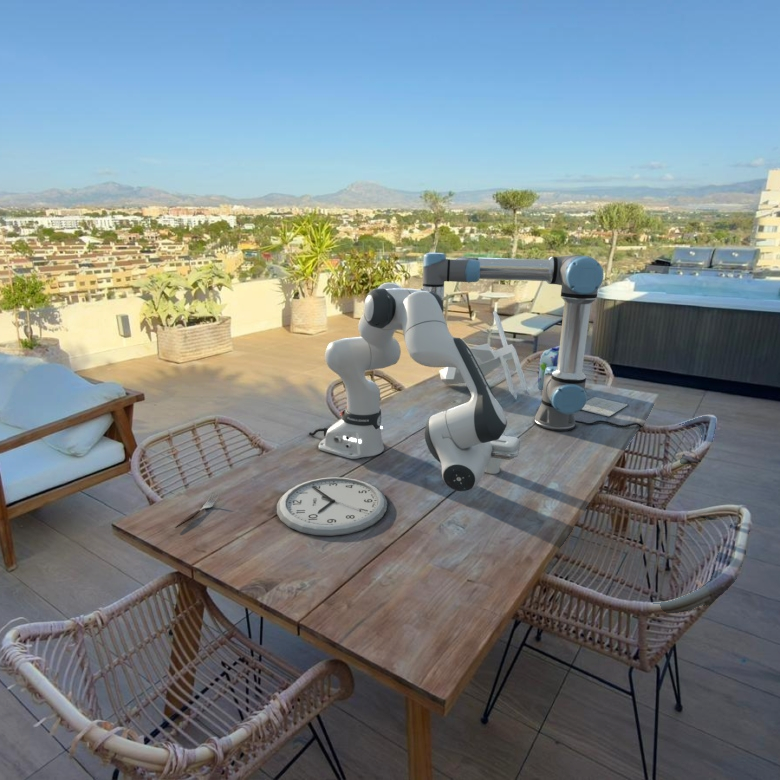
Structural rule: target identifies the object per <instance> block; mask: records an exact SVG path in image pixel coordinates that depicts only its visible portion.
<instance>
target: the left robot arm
mask: <svg viewBox="0 0 780 780" xmlns="http://www.w3.org/2000/svg"><path fill="white" fill-rule="evenodd" d="M444 310H445V309H444V301H443V302H442V300H441V298H440V296H439V295H438V294H436V293H434V292H431V291H421V289H415V288H405V287H402V286H400V285H399V284H397V283H395V282H384V283H382V284H380V285H379V286H378V287H376V288H374V289H370V290H369V292H368V293H367V294H366V296H365V297H364V302H363V312H362V315H361V316H360V319H359V321H358V326H357V329H358V333H359V335H360V336H356V337H344V338H340V339H336V340H334V341H331V342H329V343H328V344H327V346H326V348H325V351H324V360H325V364H326V365H327V367H328V368H329V369H330V371H332V372H334V373H335V374H336V375H338V377H339V378H340V379H341V381H342V382H343V385H344V388H345V395H346V406H345V408H343V409H342V411H341V412H340V413H339V414H340V415H339V417H342V418H340V419H339V420H337V421H336V422H335V423H333V424H328V425H327V426H325V427H323V428H316V429H314V430H313V432H312V431H311V432H309V433H308V435H309V436H311V437H313V436H315V435H316V434H317V433H318V432H323V437H324V438H323V439H321V441H320V442H319V443H318V451H322V452H326V453H328V454H333V455H336V456H339V457H343V458H347V459H350V460H358V459H360V458H367V457H369V458H370V457H374V456H377V455H380V454H381V453H382V452H384V450H385V446H384V442H383V438H382V432H381V430H383V426H382V409H381V389H380V387H379V386H378V384H377V383H376V382H374V381H373V380H370V379H368V378H366V371H371V370H379V369H386V368H388V367H391V366H394V365H396V364H398V362H399V360H400V358H401V355H402V354H401V352H402V351H401V350H402V349H401V346H400V342H399V341H398V340H397V338H395V337H394V334H395V333H396V330H398V331H402V333H403V339H404V342H405V347H406V351H407V353H408V355H409V357H410V358H411V359H412V360H413V361H414V362H415V363H417V364H419V365H421V366H424V367H428V368H446V367H455V368H458V369H459V370H460V372H461V374H462V376H463V378H464V381H465V383H464V384H466V387H467V389H468V391H469V393H470V396H471V397H470V399H469V400H468V401H466V402H464V403H462V404H459V405H456V406H453V407H451V408H448V409H445V410H443V411H439V412H437V413H434V414H433V415H430V416H429V418H428V419H427V421H426V424H425V428H424V440H425V444H426V447H427V449H428V450H429V452H430V454H431V455H432V456H433V458H434V459H435V460H436V461H437V462H438V463H440V465H441V477H442V480H443V482H444V484H445V486H447V487H448V488H449V489H451V490H453V491H456V492H468V491H470V490H472V489H474V488H475V487H477V485H479V483H480V482H481V480H482V478H483V477H484V475H485V473H486V472H485V470H486V467H487V466H488V463H489V461H490V459H491V458H498V459H501V460H505V461H511V460H514V459H515V458H517V457H518V456H519V453H520V447H521V440H520V439H519V438H518V437H516V436H508V435H505V430H506V428H507V425H508V422H507V415H506V413H505V411H504V409H503V407H502V406H501V405H500V403H499V401H498V400H497V398H496V396H495V395H494V392H493V391H492V389H491V387H490V385H489V382H488V381H487V378H486V376H485V377H484V375H483V373H482V371H481V369H480V367H479V365H478V363H477V361H476V360H475V358H474V356H473V354H472V352H471V351H470V349H469V347H470V346H469V345H468V344H467V343H466V342H465V340H464V339H463V338H460V337H454V336H453V335H452V334H451V331H449V327H448V323H447V320H446V318H445V314H444ZM462 339H463V340H464V341H463V340H462ZM466 344H467V345H468V346H469V347H468V346H467V345H466Z"/></svg>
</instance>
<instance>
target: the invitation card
mask: <svg viewBox="0 0 780 780" xmlns="http://www.w3.org/2000/svg"><path fill="white" fill-rule="evenodd" d="M628 406H629V404H627V403H623V402H618V401H614V400H609V399H605V398H601V397H596V396H593V397H592V398H590V399H587V401H586V404H585V406H584V407H583V408H582V409H581V410H580V411H584V412H587V413H593V414H596V415H600V416H604V417H608V418H609V417H611V416H613V415H614V414H616V413H617V412H619V411H621V410H623V409H624V408H626V407H628Z"/></svg>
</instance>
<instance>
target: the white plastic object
mask: <svg viewBox="0 0 780 780" xmlns="http://www.w3.org/2000/svg"><path fill="white" fill-rule="evenodd" d="M492 315H493V319H494V321H495V324H496V325H495V326H496V328H497V332H498V335H499V338H500V342H501V345H502V347H500V348H498V349H496V350H495V349H493V348H492V347H491V346H490V344H489V343H488V342H487V343H483V344H479V345H473V346H469V345H468V343H466V345H467V346H468V347H469V349H470V351H471V352H472V354H473V356H474V358H475V360H476V361H477V363H478V365H479V367H480V369H481V371H482V373H483V375H484V377H485V378H486V376H487V375H489V374H490V373H492V372H494V371H495V370H496V369H497V368H499V367H500V366H502V370H503V373H504V376H505V380H506V383H507V386H508V390H509V393H510V394H511V395H512V397H513V398H514V399H515V400H517V392H516V391H517V390H516V388H515V385H514V381H513V378H512V375H511V371H510V369H509V365H508V361H510V360H513V363H514V366H515V369H516V372H517V376H518V380H519V382H520V385H521V389H522V391H523V393H524V395H525V396H526V397H528V396H531V395H530V390H529V388H528V387H529V386H528V384H527V381H526V378H525V375H524V371H523V369H522V368H523V367H522V366H521V362H520V359H519V355H518V352H517V349H516V347H515V346H514V345H513V343H511V344H508V341H507V337H506V334H505V331H504V328H503V325H502V321H501V318H500V315H499V314H498V312H497V311H496V310H495V311H492ZM461 339H462V340H463V341H464V342H465V340H464V339H463V338H461ZM438 372H439V376H440V381H442V383H443V384H444V385H445V386H449V385H458V384H466V383H465V381H464V378H463V376H462V374H461V372H460V370H459V369H458V368H455V367H443V368H442V369H440V370H439V371H438Z"/></svg>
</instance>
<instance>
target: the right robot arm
mask: <svg viewBox="0 0 780 780" xmlns="http://www.w3.org/2000/svg"><path fill="white" fill-rule="evenodd" d="M422 264H423V265H422V288H420V290H421V291H431V292H434V293H436V294H438V295H439V296H440V298H441V300H442V302H443V303H444V299H443V298H444V297H445V282H447V283H449V282H452V283H453V282H457V283H468V284H470V283H477V282H479V281H480V280H495V281H497V280H499V281H500V280H501V281H526V282H527V281H531V282H546V283H547V284H548V285H557V286H561V289H560V298H561V299H562V300H563V303H564V305H563V313H562V322H561V330H560V339H559V345H558V346H559V355H558V364H557V366H553V367H547V368H546V369H545V373H544V382H543V390H542V394H541V402H540V405H539V406H538V407H536V413H535V417H534V424H535V425H536V426H537V427H539V428H542V429H544V430H549V431H556V432H567V431H572V430H574V429H575V428H576V423H577V424H582V425H585V426H593V425H596V424H601V423H603V424H608V425H611V426H614V427H618V428H628V427H632V426H638V427H639V428H644V426H643V424H641V423H638V422H633V423H628V424H617V423H614V422H610V421H608V420H595V421H592V422H586V421H581V420H578V419H576V418H575V417H576V416H575V414H576V413H579V412H580V411H582V410H581V409H582V408H583V407H584V406H585V404H586V401H588V397H587V392H586V389H585V388H586V383H587V382H586V381H587V375H586V374H585V373H584V371H583V369H584V361H585V355H586V347H587V339H588V338H587V337H588V330H589V324H590V318H591V317H590V316H591V308H592V303H593V302H594V301H596V300H597V298H598V294H599V293H598V291H599V288H601V285H602V284H603V281H604V269H603V267H602V265H601V264H600V262H599V261H597V260H596V259H595V258H594V257H592V256H587V255H581V254H574V255H573V254H572V255H565V256H551V257H549V258H548V259H545V258H544V259H543V258H542V259H541V258H540V259H539V258H501V257H500V258H497V257H496V258H495V257H494V258H492V257H466V256H460V257H457V258H455V259H451V258H449V259H448V258H447V257H446V253H444V252H427V253H425V254H424V255H423V263H422Z"/></svg>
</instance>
